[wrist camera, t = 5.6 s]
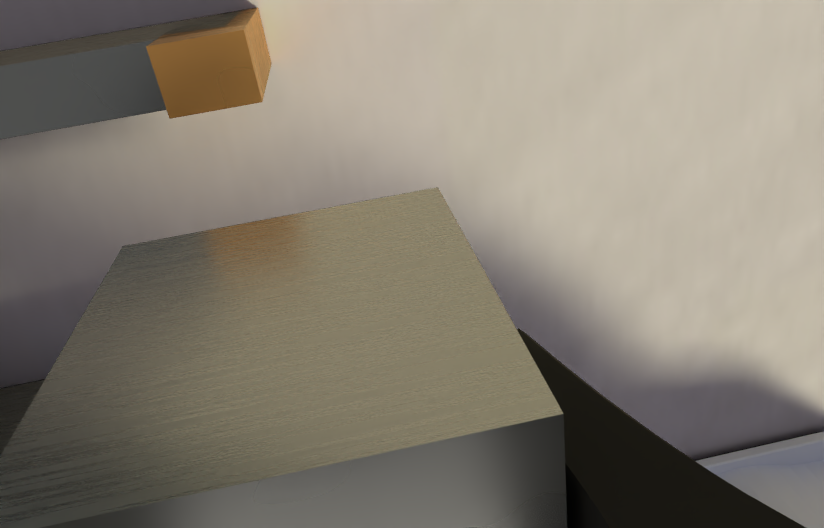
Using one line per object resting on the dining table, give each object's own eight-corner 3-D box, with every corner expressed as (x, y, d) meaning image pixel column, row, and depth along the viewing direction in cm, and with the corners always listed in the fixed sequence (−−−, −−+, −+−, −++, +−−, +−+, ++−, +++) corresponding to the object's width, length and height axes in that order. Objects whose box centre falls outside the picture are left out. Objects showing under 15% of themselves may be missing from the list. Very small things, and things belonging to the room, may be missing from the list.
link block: (437, 187, 9) (563, 414, 5) (467, 422, 11) (573, 730, 7) (122, 246, 9) (-54, 549, 4) (213, 477, 11) (155, 836, 7)
